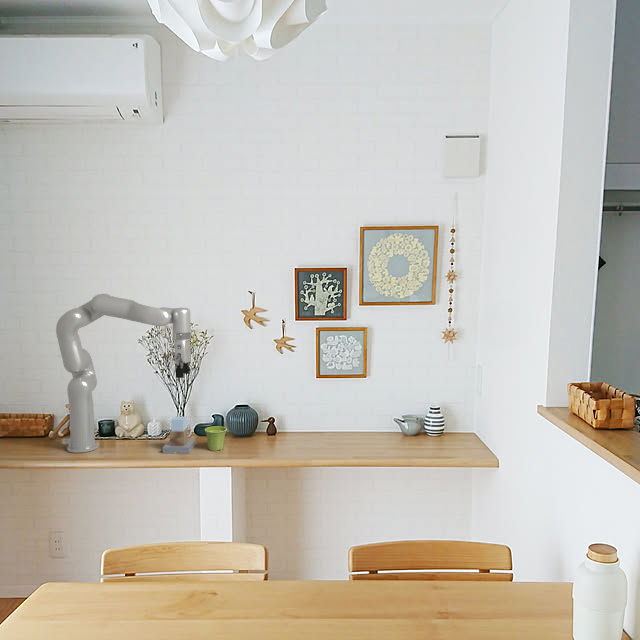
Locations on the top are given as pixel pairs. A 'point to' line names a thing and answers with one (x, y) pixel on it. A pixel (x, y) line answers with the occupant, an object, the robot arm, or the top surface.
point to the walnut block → (178, 438)
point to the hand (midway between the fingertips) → (182, 375)
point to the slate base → (179, 447)
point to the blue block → (178, 424)
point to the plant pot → (215, 437)
